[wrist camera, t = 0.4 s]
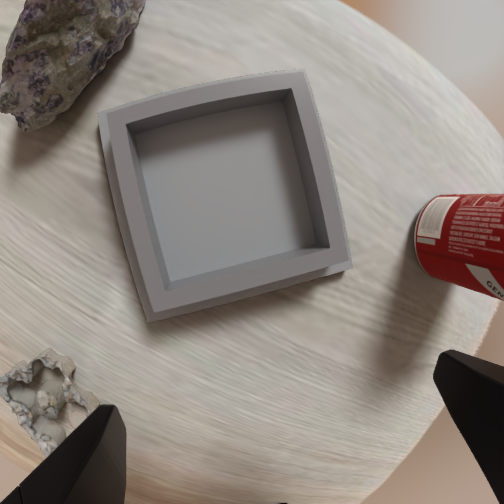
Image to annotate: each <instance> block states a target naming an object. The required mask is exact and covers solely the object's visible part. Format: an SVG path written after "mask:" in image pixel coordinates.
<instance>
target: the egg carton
mask: <svg viewBox="0 0 504 504" xmlns="http://www.w3.org/2000/svg"><path fill="white" fill-rule="evenodd" d="M44 365H45V367H48V368H51V369H52V370H53V369H54V368H60V370H61V372H62V373H63V374H64V377H65V379H64V381H63V384H62V383H61V382H60V381H59V380H56V379H48V380H47V381H46V382H45V383H44V384H43V385H42V386H41V387H40V389H39V390H38V391H37V392H35V391H33V390H31V389H27V388H23V387H22V385H21V384H20V382H19V381H20V380H22V381H24V382H25V383H29V382H31V381H32V378H33V377H34V376H35V375H36V374H37V373H38V372H39V371H40V370H41V369H42V368H43V366H44ZM75 368H76V366H75V364H74V362H73V361H72V359H71V358H70V357H69V356H61V355H59V354H57V353H56V352H55V351H54V350H53V349H52V348H51V347H50V348H48V349H46V350H44V351H43V352H42V353H41V354H40V355H39V356H38V357H37V358H35V359H34V360H32V361H31V362H30V363H29V364H28V363H27V362H26V361H25V360H23V361H21V362H19V363H18V364H17V365H16V366H15V367H13V368H12V369H11V370H10V371H9V372H8V373H5V374H3V375H2V376H1V377H0V395H1V396H2V397H3V399H4V400H5V401H6V402H8V403H9V404H10V406H11V408H12V412H13V413H16V415H17V418H18V424H19V425H21V426H22V427H23V428H24V429H25V430H26V431H27V432H28V434H29V435H30V437H31V438H32V439H33V440H34V441H35V442H36V443H37V444H38V446H39V447H40V449H41V450H42V452H43V454H44V455H45V457H46V458H47V457H48V456H49V455H50V454H51V453H52V452H53V451H54V450H55V449H56V448H57V447H58V446H59V445H60V444H61V443H62V442H63V441H64V440H65V438H66V432H65V430H64V428H63V427H62V426H61V425H60V424H58V423H57V422H55V421H52V420H46V419H45V417H47V418H54V419H56V418H57V417H58V415H59V413H60V411H61V409H62V408H63V406H64V404H65V403H66V402H67V403H70V402H74V403H77V404H79V405H81V406H85V407H86V409H87V412H88V416H89V415H90V414H91V413H92V412H93V411H94V410H95V409H96V408H97V407H98V405H99V403H100V401H99V400H98V398H97V397H96V396H95V395H94V394H93V393H92V392H87V391H83V390H81V389H80V388H79V387H77V386H76V384H75V383H74V381H73V379H72V372H73V370H74V369H75ZM88 416H87V417H88ZM87 417H86V416H85V415H84V414H82V413H79V412H71V413H70V414H69V416H68V420H69V423H70V425H71V426H72V427H73V428H74V429H76V428H77V427H78V426H79V425H80V424H81V423H82V422H83V421H84V420H85V419H86V418H87Z"/></svg>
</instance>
